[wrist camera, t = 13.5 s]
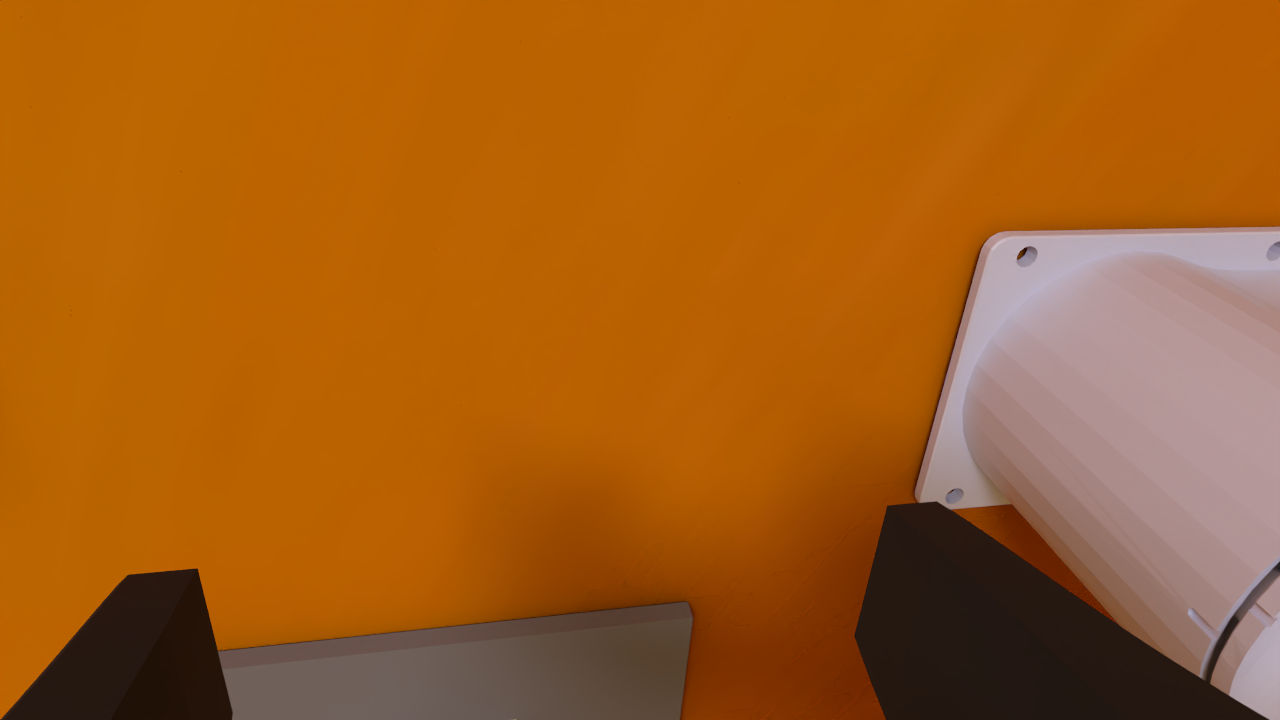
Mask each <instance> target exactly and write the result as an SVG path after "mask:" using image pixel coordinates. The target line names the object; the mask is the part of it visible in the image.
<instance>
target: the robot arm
mask: <svg viewBox="0 0 1280 720" xmlns="http://www.w3.org/2000/svg"><path fill="white" fill-rule="evenodd" d="M1025 247H1028V249H1027V252H1026V253H1025V255H1024V256H1023V257H1022V258H1021V259H1019V260H1017V256H1018V254H1019V252H1020V251H1021V250H1022V249H1024V248H1025ZM1269 248H1270V249H1269ZM953 489H954V491H952V492H951V493H950V494H948V493H949V492H950V491H951V490H953ZM915 498H916V500H917V502H918V503H912V504H901V505H890V506H887V510H886V514H885V518H884V522H883V526H882V529H881V533H880V537H879V541H878V545H877V549H876V553H875V557H874V561H873V565H872V569H871V573H870V577H869V581H868V585H867V589H866V593H865V596H864V600H863V604H862V608H861V612H860V616H859V620H858V624H857V628H856V632H855V639H856V642H857V644H858V647H859V650H860V653H861V655H862V658H863V661H864V664H865V666H866V669H867V672H868V675H869V677H870V680H871V683H872V685H873V688H874V690H875V693H876V695H877V698H878V700H879V703H880V705H881V708H882V710H883V713H884V715H885V718H886V720H1280V227H1238V228H1178V229H1117V230H1057V231H1005V232H1000V233H997V234H995V235H993V236H992V237H990V238H989V239H988V240H987V241H986V242H985V244H984V245H983V247H982V250H981V252H980V255H979V259H978V262H977V266H976V270H975V273H974V277H973V281H972V284H971V288H970V292H969V295H968V299H967V303H966V306H965V310H964V314H963V317H962V321H961V325H960V328H959V332H958V336H957V339H956V343H955V346H954V350H953V354H952V357H951V361H950V365H949V368H948V372H947V376H946V379H945V383H944V387H943V390H942V394H941V398H940V401H939V405H938V409H937V412H936V416H935V420H934V423H933V427H932V430H931V434H930V438H929V441H928V445H927V449H926V452H925V456H924V460H923V463H922V467H921V471H920V474H919V478H918V482H917V485H916V489H915ZM1006 504H1012V505H1013V506H1014V507H1015V508H1016V509H1017V510H1018V511H1019V513H1020V514H1021V515H1022V516H1023V517H1024V518H1025V519H1026V520H1027V522H1028V523H1029V524H1030V525H1031V526H1032V527H1033V528H1034V530H1035V531H1036V532H1037V533H1038V534H1039V535H1040V536H1041V537H1042V539H1043V540H1044V541H1045V542H1046V543H1047V544H1048V545H1049V546H1050V548H1051V549H1052V550H1053V551H1054V552H1055V553H1056V554H1057V555H1058V557H1059V558H1060V559H1061V560H1062V561H1063V562H1064V563H1065V564H1066V566H1067V567H1068V568H1069V569H1070V570H1071V571H1072V572H1073V573H1074V575H1075V576H1076V577H1077V578H1078V579H1079V580H1080V581H1081V582H1082V584H1083V585H1084V586H1085V587H1086V588H1087V589H1088V590H1089V591H1090V593H1091V594H1092V595H1093V596H1094V597H1095V598H1096V599H1097V601H1098V602H1099V603H1100V604H1101V605H1102V606H1103V607H1104V608H1105V610H1106V611H1107V612H1108V613H1109V614H1110V615H1111V616H1112V617H1113V619H1114V620H1115V621H1116V622H1117V623H1118V624H1119V625H1120V626H1119V625H1118V624H1116V623H1115V622H1113V621H1112V620H1110V619H1109V618H1107V617H1106V616H1104V615H1103V614H1102V613H1100V612H1099V611H1097V610H1096V609H1094V608H1093V607H1091V606H1090V605H1088V604H1087V603H1085V602H1084V601H1082V600H1081V599H1080V598H1078V597H1077V596H1075V595H1074V594H1072V593H1071V592H1069V591H1068V590H1066V589H1065V588H1064V587H1062V586H1061V585H1059V584H1058V583H1056V582H1055V581H1053V580H1052V579H1051V578H1049V577H1048V576H1046V575H1045V574H1043V573H1042V572H1041V571H1039V570H1038V569H1036V568H1035V567H1033V566H1032V565H1031V564H1029V563H1028V562H1026V561H1025V560H1023V559H1022V558H1021V557H1019V556H1018V555H1016V554H1015V553H1013V552H1012V551H1011V550H1009V549H1008V548H1006V547H1005V546H1003V545H1002V544H1000V543H999V542H998V541H996V540H995V539H993V538H992V537H990V536H989V535H987V534H986V533H985V532H983V531H982V530H980V529H979V528H977V527H976V526H974V525H973V524H971V523H970V522H968V521H967V520H965V519H964V518H962V517H961V516H959V515H958V514H956V513H955V512H953V511H951V510H950V509H961V508H973V507H984V506H995V505H1006ZM232 716H233V711H232V707H231V703H230V699H229V695H228V691H227V687H226V683H225V679H224V675H223V670H222V666H221V662H220V658H219V654H218V650H217V646H216V642H215V638H214V634H213V630H212V626H211V622H210V618H209V613H208V609H207V605H206V601H205V597H204V593H203V589H202V585H201V581H200V577H199V573H198V569H187V570H176V571H165V572H154V573H143V574H132V575H127V576H126V577H125V578H124V579H123V580H122V581H121V582H120V583H119V584H118V585H117V586H116V588H115V589H114V590H113V591H112V592H111V593H110V594H109V596H108V597H107V598H106V599H105V600H104V601H103V602H102V604H101V605H100V606H99V607H98V608H97V609H96V611H95V612H94V613H93V614H92V615H91V616H90V618H89V619H88V620H87V621H86V622H85V623H84V625H83V626H82V627H81V628H80V629H79V630H78V632H77V633H76V634H75V635H74V636H73V637H72V639H71V640H70V641H69V642H68V643H67V645H66V646H65V647H64V648H63V649H62V650H61V651H60V653H59V654H58V655H57V656H56V657H55V658H54V660H53V661H52V662H51V663H50V664H49V665H48V667H47V668H46V669H45V670H44V671H43V672H42V673H41V675H40V676H39V677H38V678H37V679H36V680H35V681H34V683H33V684H32V685H31V686H30V687H29V688H28V689H27V691H26V692H25V693H24V694H23V695H22V696H21V697H20V699H19V700H18V701H17V702H16V703H15V704H14V705H13V707H12V708H11V709H10V710H9V711H8V712H7V713H6V714H5V715H4V717H3V718H2V719H1V720H232Z"/></svg>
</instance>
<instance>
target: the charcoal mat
mask: <svg viewBox="0 0 1280 720" xmlns="http://www.w3.org/2000/svg"><path fill="white" fill-rule="evenodd" d="M692 623H693V616H692V613H691V610H690V607H689V604H688V602H679V603H670V604H660V605H651V606H641V607H632V608H623V609H613V610H604V611H594V612H585V613H575V614H566V615H557V616H547V617H538V618H528V619H519V620H509V621H500V622H491V623H481V624H472V625H462V626H453V627H444V628H434V629H425V630H415V631H406V632H396V633H387V634H378V635H368V636H359V637H349V638H340V639H330V640H321V641H312V642H302V643H293V644H283V645H274V646H264V647H255V648H246V649H236V650H227V651H218V654H219V658H220V662H221V666H222V670H223V675H224V679H225V683H226V687H227V691H228V695H229V699H230V703H231V707H232V711H233V716H232V720H513V719H517V720H680V715H681V707H682V699H683V692H684V684H685V676H686V669H687V661H688V653H689V646H690V638H691V630H692Z"/></svg>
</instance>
